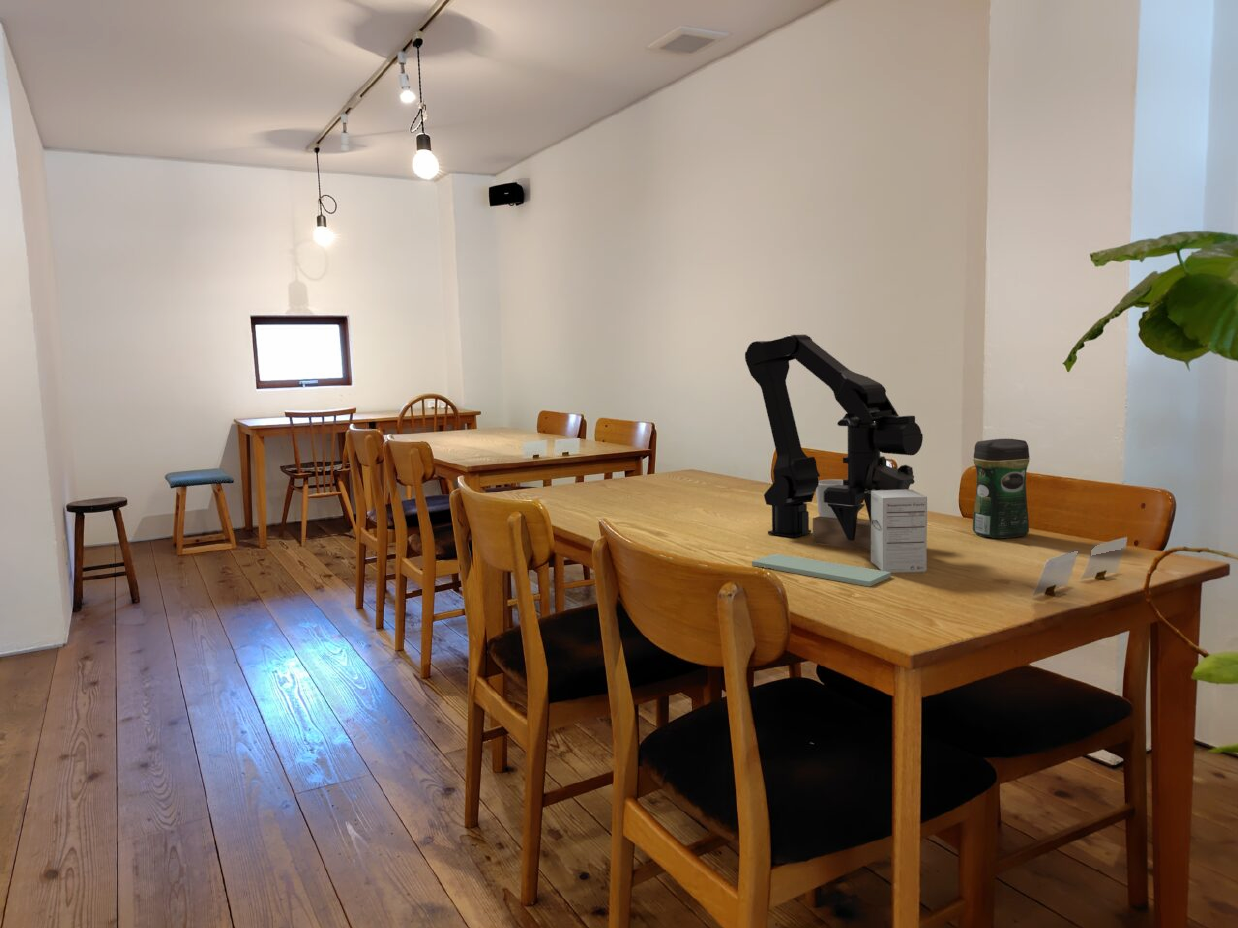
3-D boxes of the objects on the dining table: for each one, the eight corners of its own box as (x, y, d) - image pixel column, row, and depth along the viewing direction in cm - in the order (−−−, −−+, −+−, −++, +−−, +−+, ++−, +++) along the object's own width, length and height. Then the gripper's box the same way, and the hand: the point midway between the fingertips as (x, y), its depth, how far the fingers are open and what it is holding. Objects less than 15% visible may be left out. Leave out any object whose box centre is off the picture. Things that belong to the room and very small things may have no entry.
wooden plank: (812, 544, 160) (812, 518, 159) (819, 541, 162) (819, 516, 161) (913, 558, 146) (913, 530, 145) (919, 556, 148) (919, 528, 147)
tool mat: (751, 565, 144) (751, 561, 144) (774, 557, 149) (774, 553, 149) (869, 586, 129) (869, 581, 129) (890, 577, 134) (890, 572, 134)
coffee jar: (1009, 528, 166) (1011, 435, 163) (1035, 537, 158) (1038, 439, 156) (964, 532, 164) (966, 438, 162) (989, 540, 156) (991, 442, 154)
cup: (860, 523, 176) (861, 486, 175) (822, 524, 176) (822, 487, 175) (847, 514, 186) (847, 478, 185) (811, 515, 187) (811, 479, 186)
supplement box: (869, 562, 144) (869, 489, 142) (913, 561, 143) (913, 488, 142) (881, 573, 136) (882, 497, 135) (927, 572, 136) (928, 495, 134)
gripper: (880, 459, 139) (880, 551, 141) (929, 448, 153) (928, 532, 155) (821, 456, 147) (822, 542, 149) (873, 445, 160) (872, 525, 162)
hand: (863, 535), depth 154 cm, fingers open, 9 cm apart
